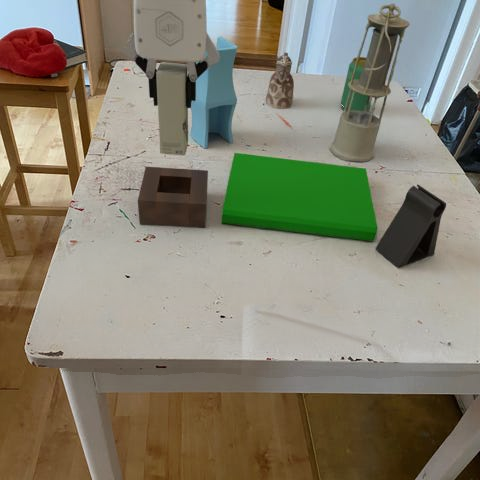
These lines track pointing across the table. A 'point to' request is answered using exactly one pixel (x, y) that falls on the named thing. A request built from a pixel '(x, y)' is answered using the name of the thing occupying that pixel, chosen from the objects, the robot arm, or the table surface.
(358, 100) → the beverage can
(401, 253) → the phone stand
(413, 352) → the table surface
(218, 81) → the vase
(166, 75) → the box
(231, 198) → the book
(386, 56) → the lamp
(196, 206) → the brown frame
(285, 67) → the figurine
